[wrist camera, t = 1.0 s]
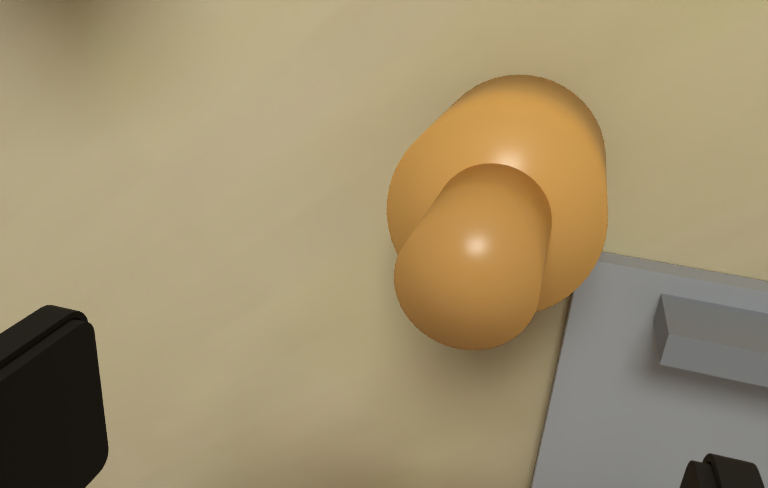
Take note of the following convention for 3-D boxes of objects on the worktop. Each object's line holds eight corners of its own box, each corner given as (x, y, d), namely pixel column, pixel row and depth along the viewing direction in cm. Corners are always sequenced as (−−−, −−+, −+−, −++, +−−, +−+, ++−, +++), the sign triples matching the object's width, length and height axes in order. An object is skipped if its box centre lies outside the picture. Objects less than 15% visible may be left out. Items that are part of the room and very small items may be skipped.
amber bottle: (623, 86, 23) (640, 176, 13) (586, 253, 26) (579, 429, 16) (443, 64, 25) (341, 131, 15) (425, 224, 27) (329, 370, 17)
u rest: (1079, 337, 22) (1172, 409, 18) (910, 623, 28) (955, 720, 24) (581, 248, 26) (579, 293, 22) (523, 517, 31) (514, 587, 28)
